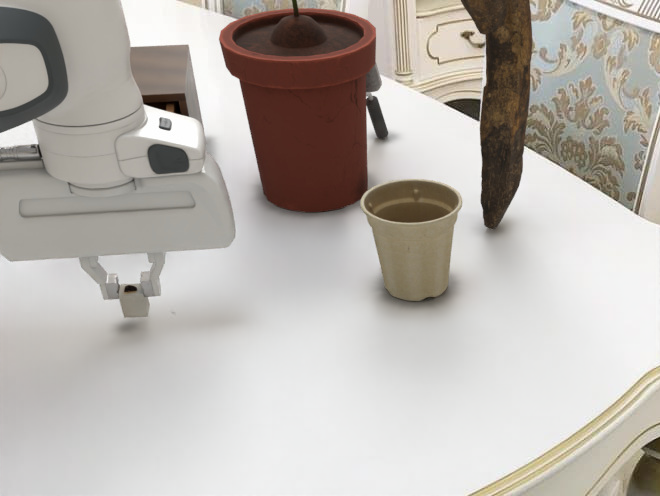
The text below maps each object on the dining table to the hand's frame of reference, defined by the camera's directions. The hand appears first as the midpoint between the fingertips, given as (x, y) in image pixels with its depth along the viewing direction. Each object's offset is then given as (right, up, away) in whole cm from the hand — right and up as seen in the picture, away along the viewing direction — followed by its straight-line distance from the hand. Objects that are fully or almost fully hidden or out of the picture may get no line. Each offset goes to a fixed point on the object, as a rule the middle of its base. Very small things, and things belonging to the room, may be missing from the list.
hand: (133, 295), depth 101 cm
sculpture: (+32, +12, +16) cm, 38 cm away
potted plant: (+15, +20, +23) cm, 34 cm away
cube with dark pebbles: (0, -1, +1) cm, 2 cm away
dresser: (-7, +22, +25) cm, 34 cm away
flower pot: (+25, +3, +7) cm, 26 cm away
